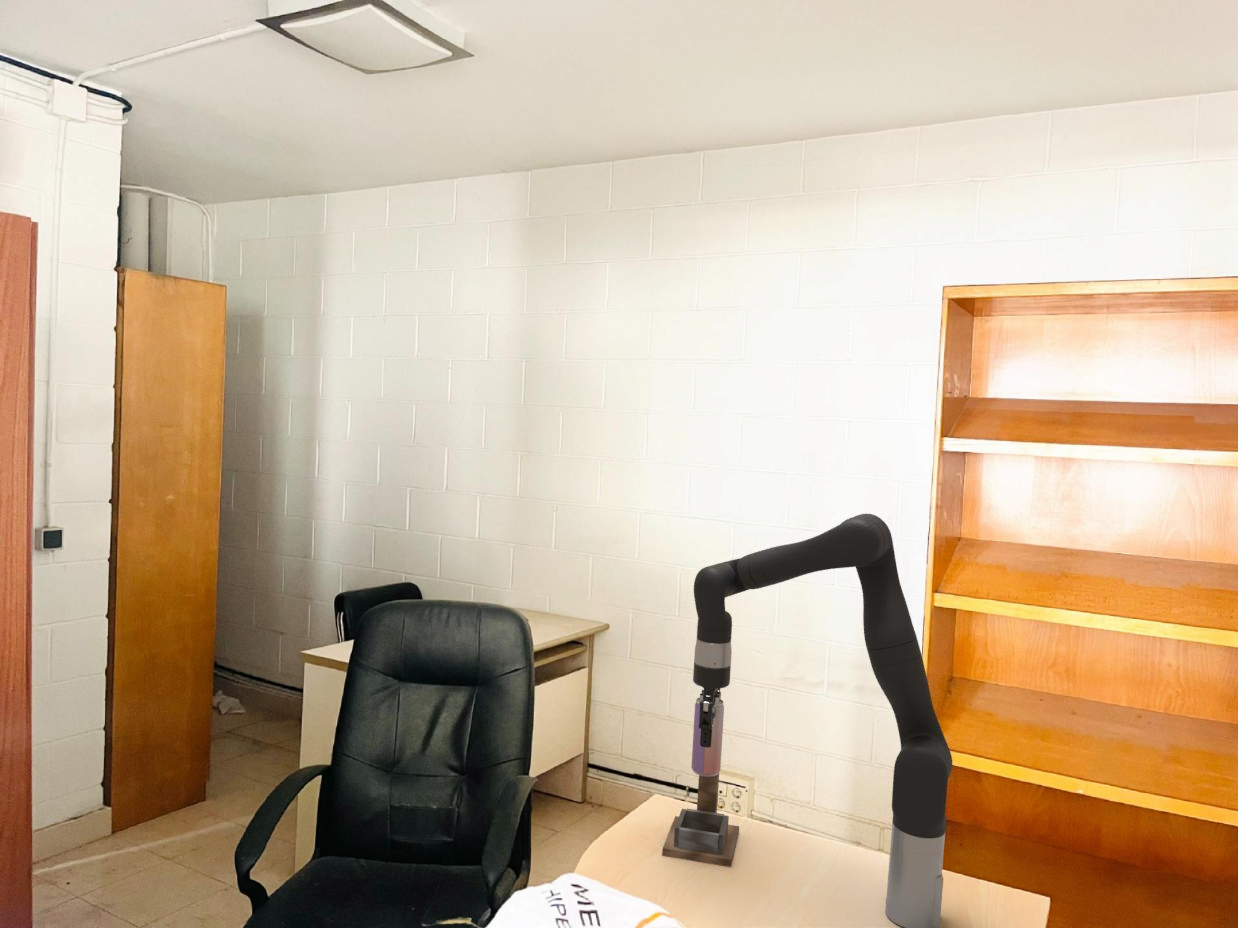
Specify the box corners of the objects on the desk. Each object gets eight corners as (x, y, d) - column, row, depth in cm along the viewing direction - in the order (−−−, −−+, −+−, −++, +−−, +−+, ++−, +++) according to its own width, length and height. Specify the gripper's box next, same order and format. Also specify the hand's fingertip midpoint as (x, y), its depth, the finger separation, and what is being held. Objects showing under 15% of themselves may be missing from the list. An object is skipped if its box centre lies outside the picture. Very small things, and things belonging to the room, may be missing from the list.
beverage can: (688, 774, 187) (692, 702, 186) (694, 763, 193) (698, 694, 192) (717, 779, 185) (721, 707, 184) (722, 768, 191) (726, 698, 190)
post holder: (738, 832, 198) (744, 754, 196) (731, 866, 183) (736, 781, 182) (674, 822, 201) (679, 744, 199) (662, 855, 186) (667, 771, 185)
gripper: (726, 673, 180) (721, 756, 181) (734, 653, 193) (729, 731, 195) (688, 668, 181) (684, 751, 182) (699, 649, 195) (694, 726, 196)
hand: (707, 740), depth 189 cm, fingers closed on beverage can, 6 cm apart
